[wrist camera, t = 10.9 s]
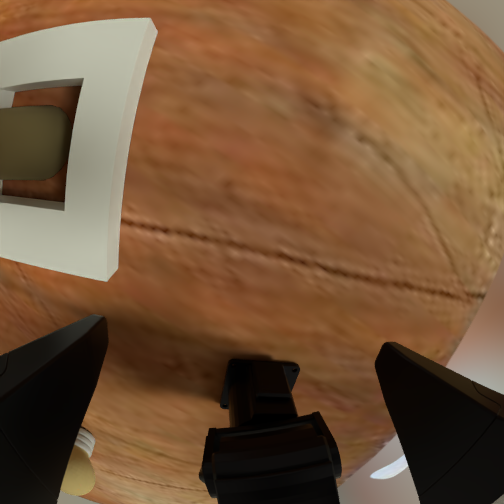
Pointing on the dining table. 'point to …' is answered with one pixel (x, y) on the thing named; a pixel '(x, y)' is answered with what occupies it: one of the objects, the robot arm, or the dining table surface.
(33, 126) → the olive green peg
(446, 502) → the robot arm
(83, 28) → the socket board
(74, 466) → the light bulb
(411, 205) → the dining table surface
